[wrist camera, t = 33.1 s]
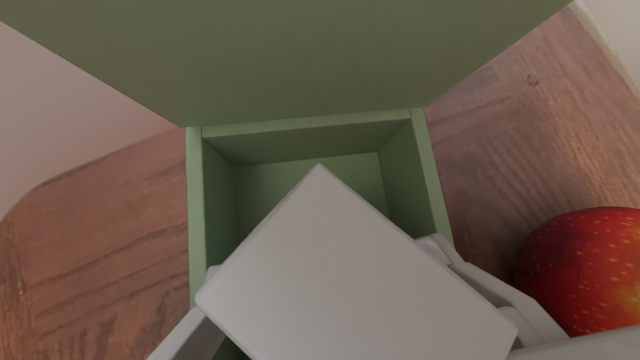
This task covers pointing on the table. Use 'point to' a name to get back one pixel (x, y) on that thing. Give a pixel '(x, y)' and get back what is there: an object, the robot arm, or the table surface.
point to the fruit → (584, 269)
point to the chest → (292, 165)
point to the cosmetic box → (346, 287)
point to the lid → (276, 51)
